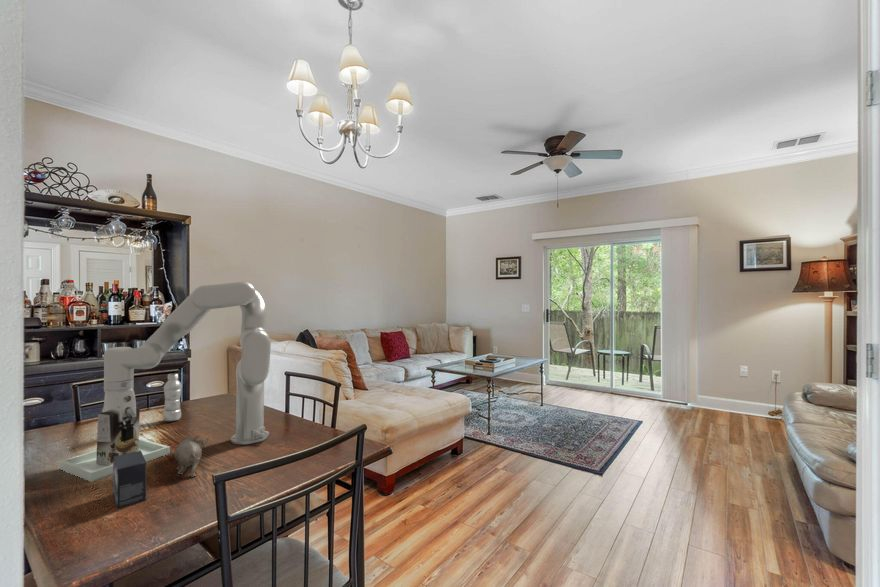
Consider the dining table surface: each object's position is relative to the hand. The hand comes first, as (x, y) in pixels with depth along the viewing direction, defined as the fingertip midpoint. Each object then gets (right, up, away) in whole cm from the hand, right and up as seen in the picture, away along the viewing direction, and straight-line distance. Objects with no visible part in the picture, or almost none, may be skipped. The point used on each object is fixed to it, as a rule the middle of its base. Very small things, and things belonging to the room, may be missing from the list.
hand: (118, 437), depth 127 cm
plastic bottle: (-10, -8, +41) cm, 43 cm away
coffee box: (0, -7, 0) cm, 7 cm away
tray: (0, -8, 0) cm, 8 cm away
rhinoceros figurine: (+26, -9, -4) cm, 27 cm away
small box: (+21, -8, -22) cm, 31 cm away
